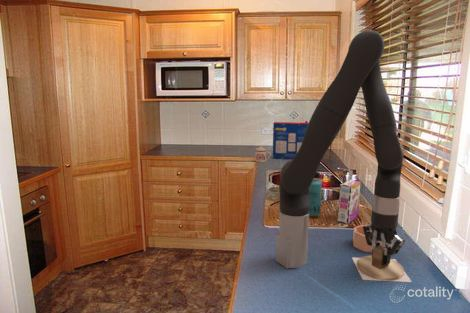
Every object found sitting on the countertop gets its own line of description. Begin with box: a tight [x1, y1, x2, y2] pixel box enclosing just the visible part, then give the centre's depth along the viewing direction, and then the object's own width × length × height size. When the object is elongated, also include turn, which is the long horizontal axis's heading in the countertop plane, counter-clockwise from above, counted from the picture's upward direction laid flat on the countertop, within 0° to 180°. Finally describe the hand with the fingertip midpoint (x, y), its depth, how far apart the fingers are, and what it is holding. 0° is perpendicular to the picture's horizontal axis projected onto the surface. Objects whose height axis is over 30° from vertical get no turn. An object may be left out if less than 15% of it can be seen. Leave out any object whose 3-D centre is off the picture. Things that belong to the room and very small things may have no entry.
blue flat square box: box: [272, 121, 309, 160], centre depth 282 cm, size 28×8×28 cm, turn 81°
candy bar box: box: [336, 179, 362, 225], centre depth 154 cm, size 11×5×16 cm, turn 141°
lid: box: [356, 245, 405, 280], centre depth 112 cm, size 14×14×7 cm
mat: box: [351, 257, 413, 283], centre depth 112 cm, size 14×14×1 cm
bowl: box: [352, 224, 382, 253], centre depth 128 cm, size 11×11×6 cm
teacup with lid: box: [254, 145, 272, 163], centre depth 272 cm, size 12×9×12 cm
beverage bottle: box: [309, 171, 323, 217], centre depth 156 cm, size 6×7×20 cm
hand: (380, 262), depth 112 cm, fingers closed on lid, 3 cm apart
